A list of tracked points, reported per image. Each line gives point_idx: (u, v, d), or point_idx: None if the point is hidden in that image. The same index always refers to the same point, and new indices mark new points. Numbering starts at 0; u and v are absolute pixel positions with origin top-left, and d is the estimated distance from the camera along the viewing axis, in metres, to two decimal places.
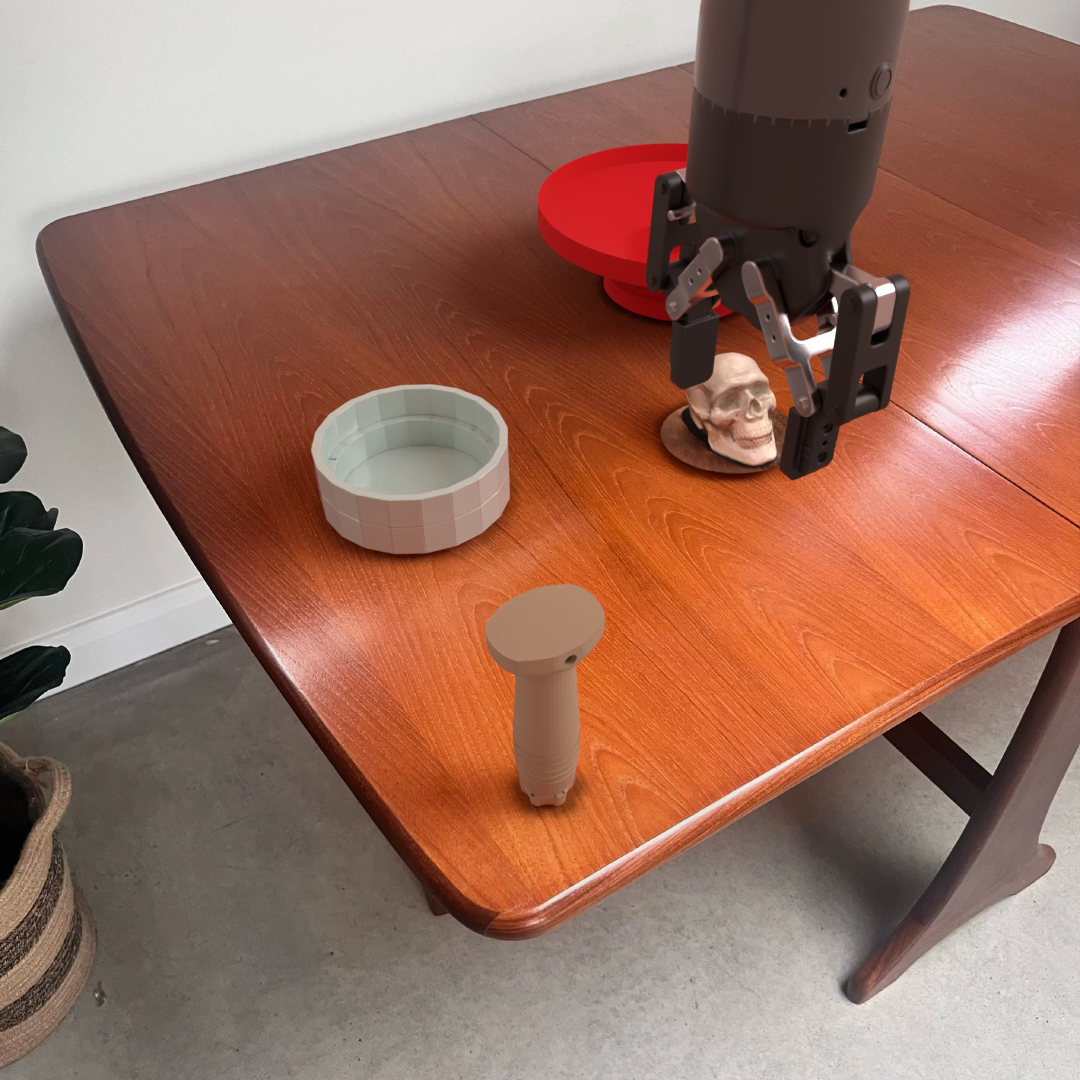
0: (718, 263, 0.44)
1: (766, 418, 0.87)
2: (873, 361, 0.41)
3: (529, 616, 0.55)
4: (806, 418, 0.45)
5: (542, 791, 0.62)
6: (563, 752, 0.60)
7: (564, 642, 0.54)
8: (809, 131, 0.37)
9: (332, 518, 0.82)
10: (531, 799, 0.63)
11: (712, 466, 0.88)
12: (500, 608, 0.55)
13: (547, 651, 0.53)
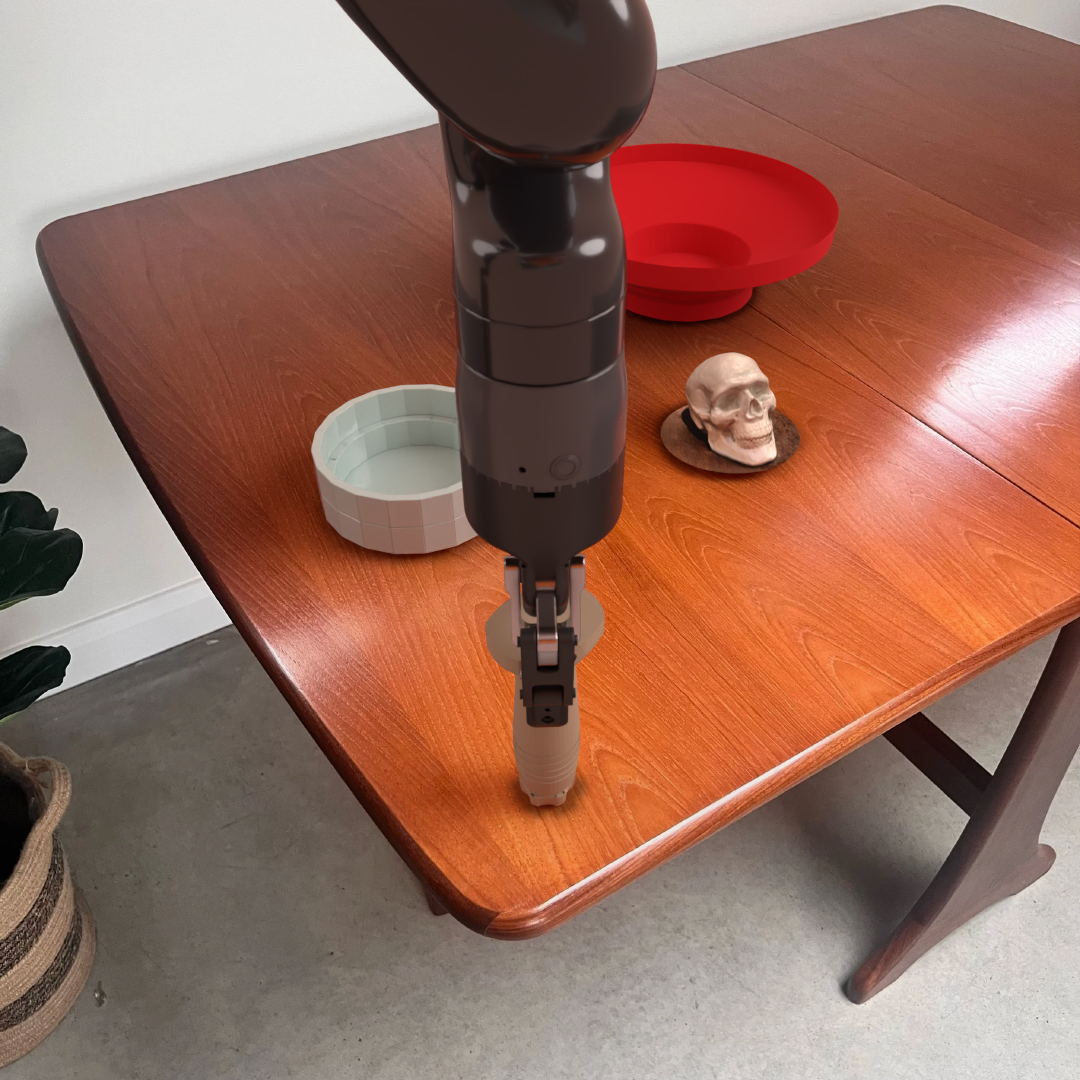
0: None
1: (766, 418, 0.87)
2: (544, 680, 0.48)
3: (529, 616, 0.55)
4: None
5: (542, 791, 0.62)
6: (563, 751, 0.60)
7: None
8: (500, 488, 0.45)
9: (332, 518, 0.82)
10: (531, 799, 0.63)
11: (712, 466, 0.88)
12: (500, 607, 0.55)
13: None
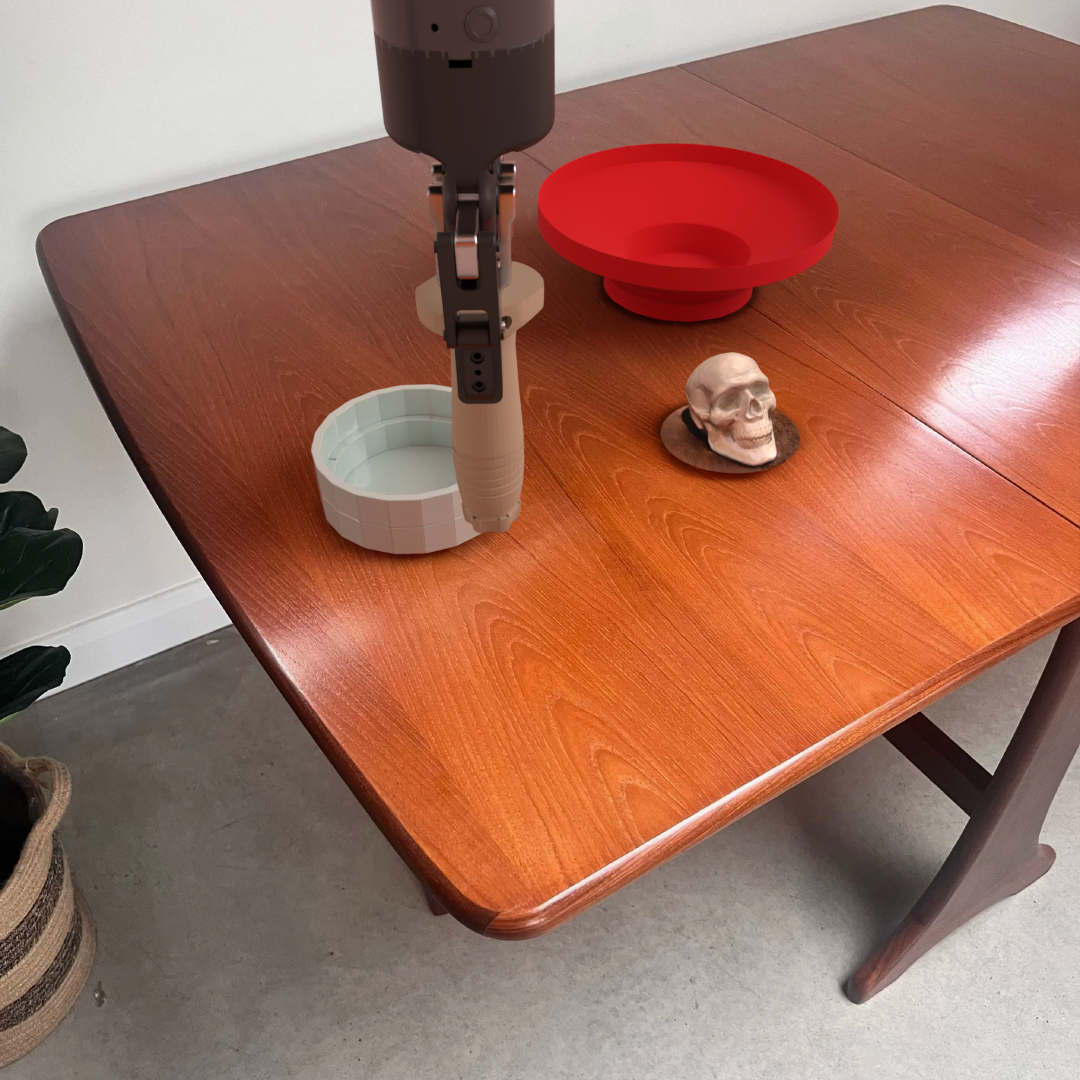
0: None
1: (766, 418, 0.87)
2: (466, 303, 0.45)
3: None
4: None
5: (484, 509, 0.58)
6: (503, 456, 0.56)
7: None
8: (413, 59, 0.41)
9: (332, 518, 0.82)
10: (473, 523, 0.59)
11: (712, 466, 0.88)
12: (433, 277, 0.52)
13: None
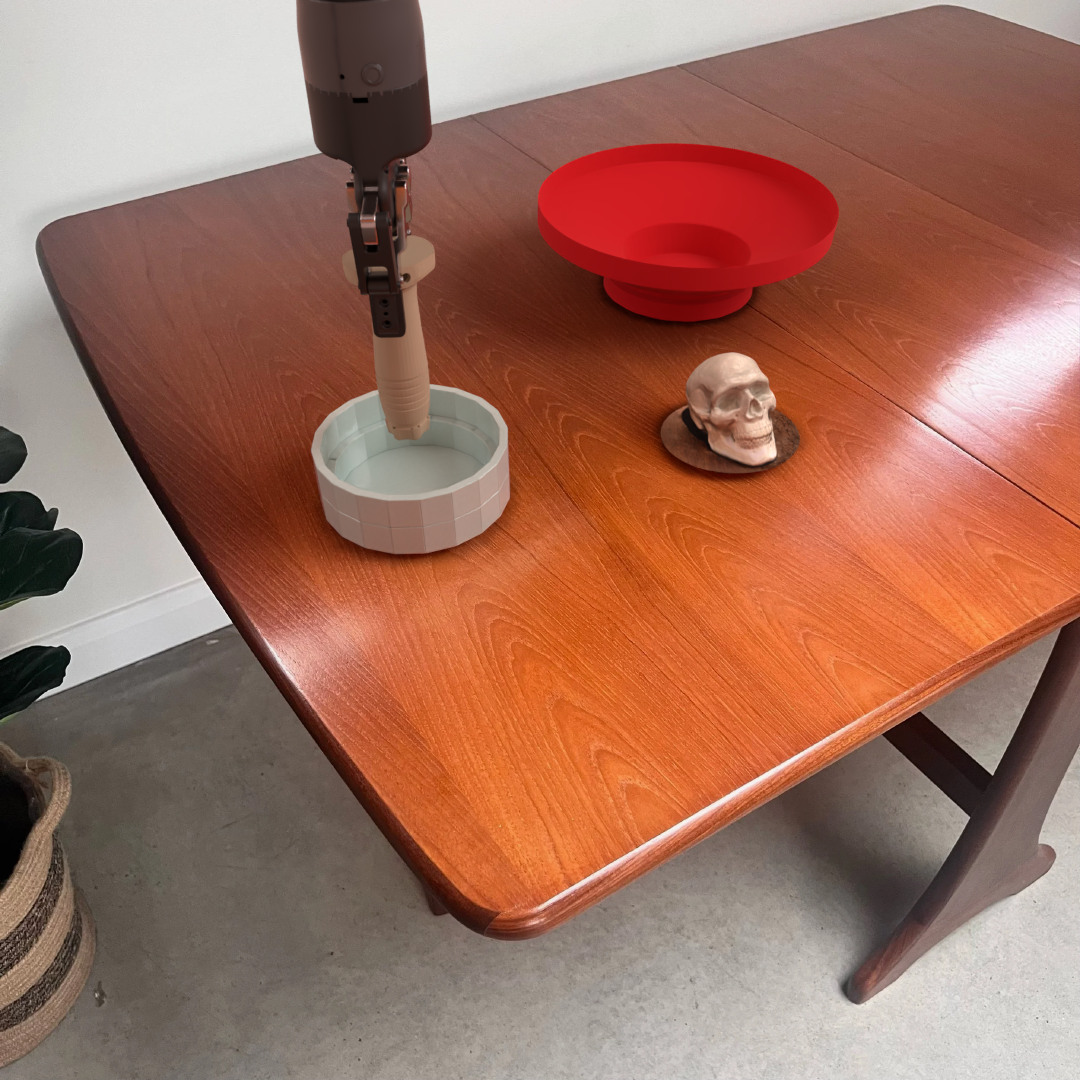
0: None
1: (766, 418, 0.87)
2: (371, 261, 0.65)
3: None
4: None
5: (400, 421, 0.79)
6: (412, 379, 0.77)
7: None
8: (329, 97, 0.62)
9: (332, 518, 0.82)
10: (393, 432, 0.80)
11: (712, 466, 0.88)
12: None
13: None
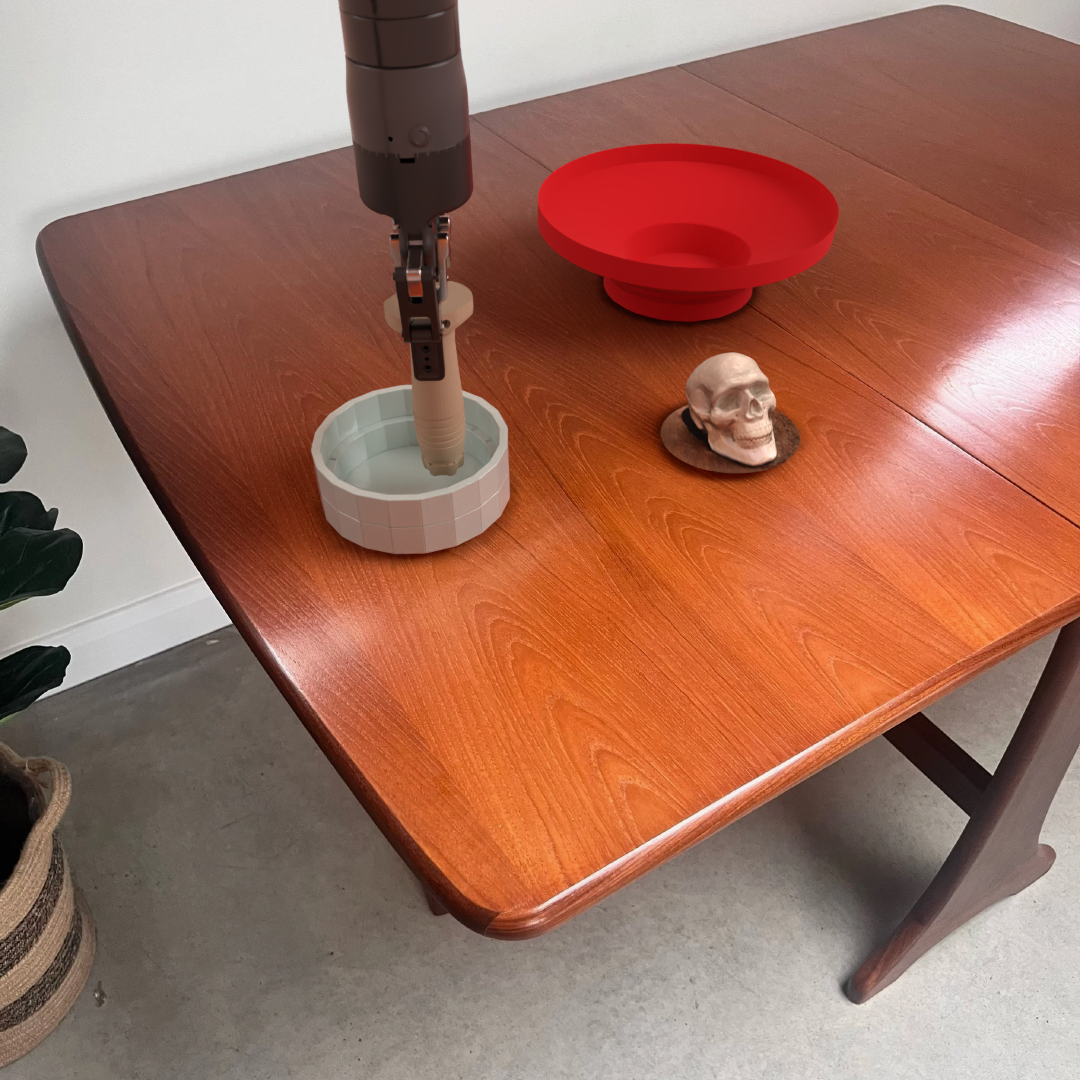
0: (393, 233, 0.72)
1: (766, 418, 0.87)
2: (415, 312, 0.68)
3: None
4: None
5: (436, 458, 0.81)
6: (449, 418, 0.79)
7: None
8: (377, 157, 0.64)
9: (332, 518, 0.82)
10: (430, 469, 0.83)
11: (712, 466, 0.88)
12: (396, 293, 0.75)
13: None
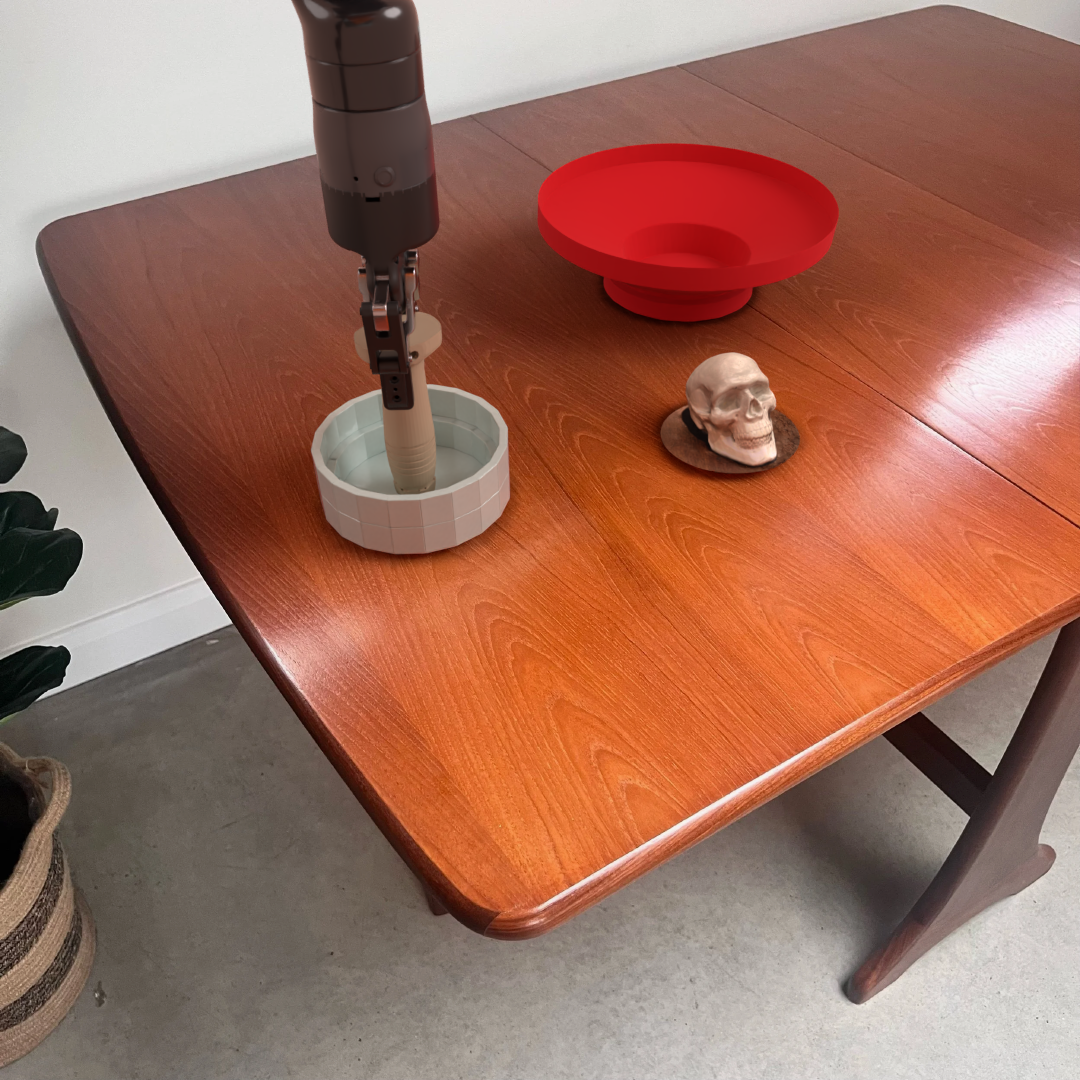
0: None
1: (766, 418, 0.87)
2: (382, 346, 0.69)
3: None
4: None
5: (408, 483, 0.83)
6: (419, 445, 0.81)
7: None
8: (344, 196, 0.66)
9: (332, 518, 0.82)
10: (401, 494, 0.84)
11: (712, 466, 0.88)
12: None
13: None
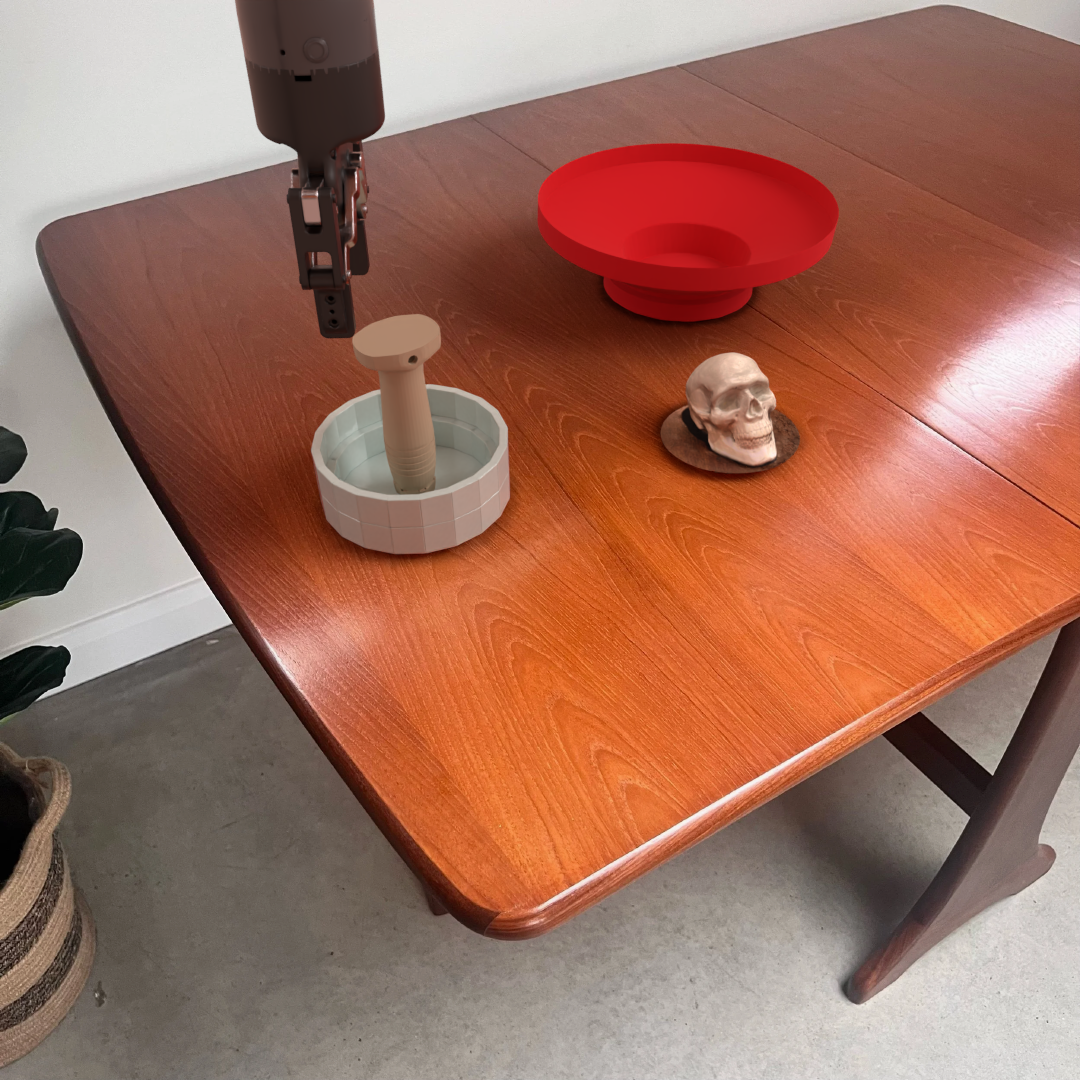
0: None
1: (766, 418, 0.87)
2: (313, 245, 0.59)
3: (385, 332, 0.76)
4: None
5: (408, 484, 0.83)
6: (419, 447, 0.81)
7: (408, 346, 0.74)
8: (270, 75, 0.57)
9: (332, 518, 0.82)
10: (401, 494, 0.84)
11: (712, 466, 0.88)
12: (365, 328, 0.76)
13: (395, 351, 0.74)
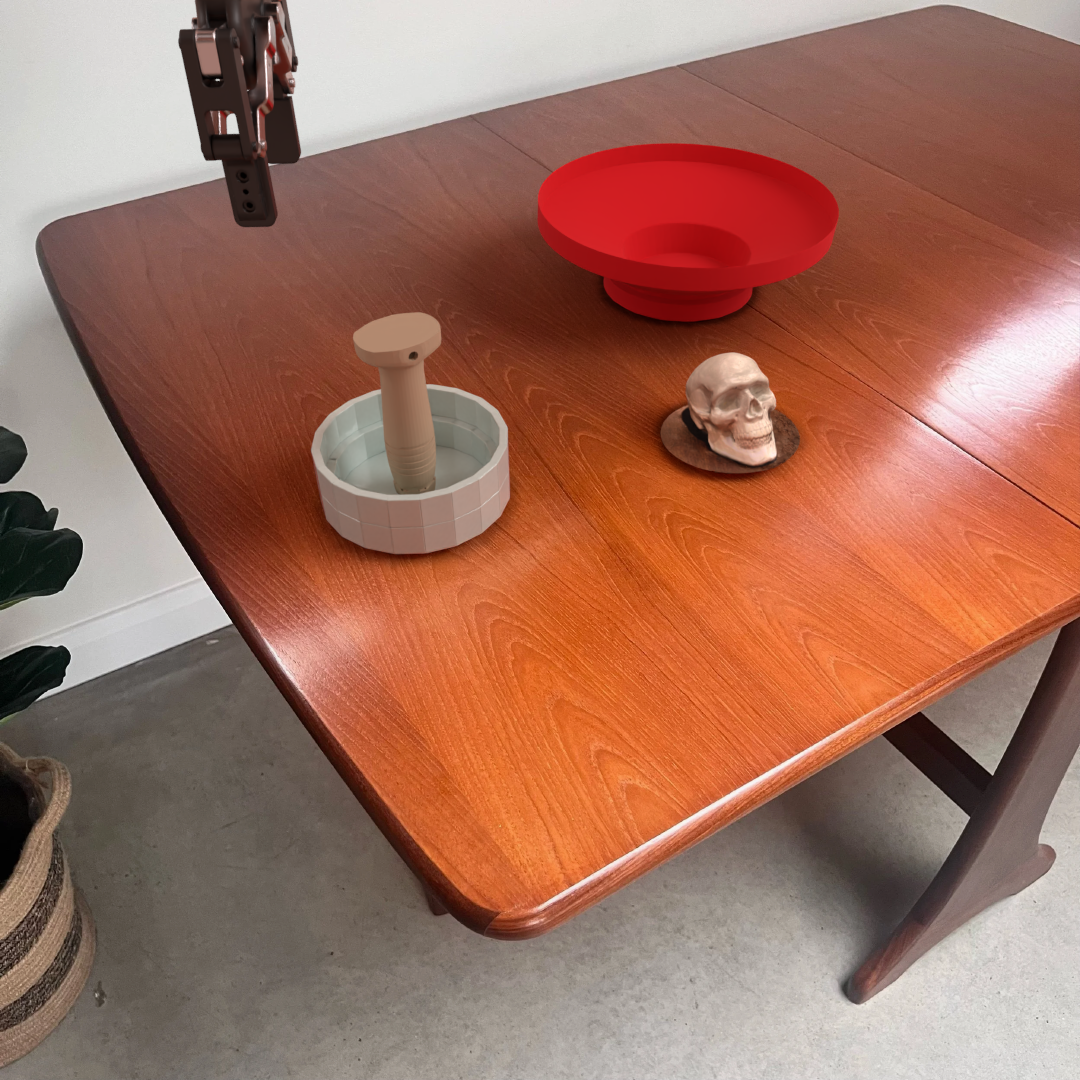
0: None
1: (766, 418, 0.87)
2: (214, 102, 0.49)
3: (386, 329, 0.76)
4: None
5: (408, 484, 0.83)
6: (419, 446, 0.81)
7: (408, 342, 0.75)
8: None
9: (332, 518, 0.82)
10: (401, 494, 0.84)
11: (712, 466, 0.88)
12: (366, 325, 0.77)
13: (395, 347, 0.74)
